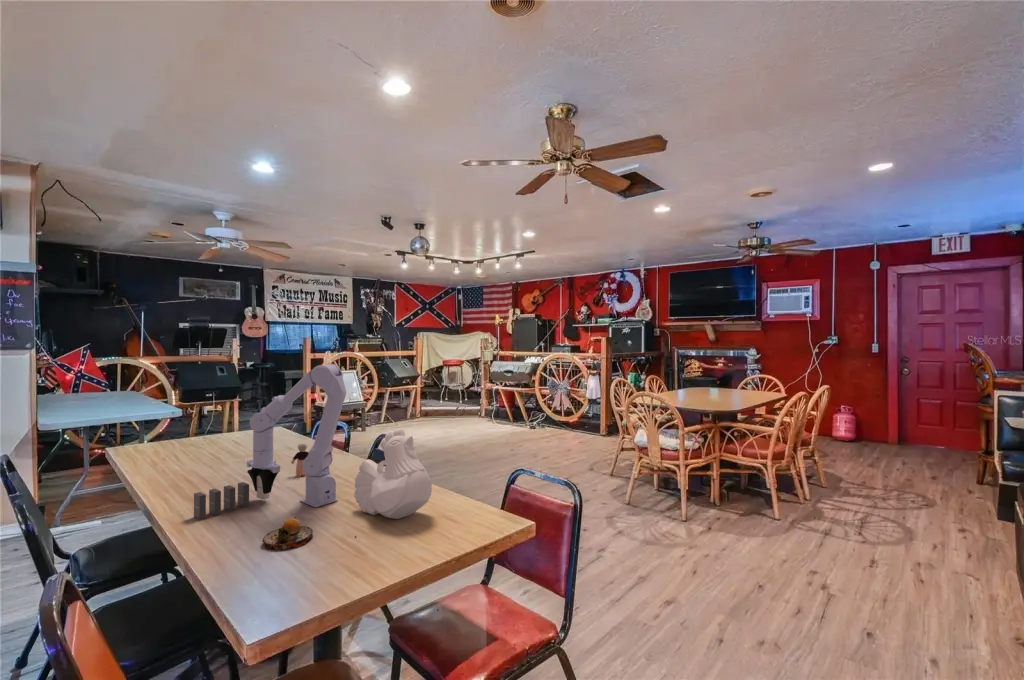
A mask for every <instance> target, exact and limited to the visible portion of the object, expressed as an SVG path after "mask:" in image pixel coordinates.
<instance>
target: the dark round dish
mask: <svg viewBox="0 0 1024 680" xmlns="http://www.w3.org/2000/svg"><path fill="white" fill-rule="evenodd" d="M297 515H298V514H296V515H295V517H297ZM301 524H302V522H300V521H299V520H298V519H297V518H293V517H292V518H288V519H286V520H285V521H284V522H283V525H282V526H281V527H280V528H277V529H275V530H272V531H270V532H268V533H266V535H264V537H263V538H262V541H261V542H262V543H264V549H266V550H268V551H272V547H273V548H274V549H275V550H276V551H277V552H281V551H282V550H283V551H285V550H286V549H290V548H294V549H297V548H300V547H301V546H302V545H304V546H305V545H307V544H308V543H310V542H311V541H312V540H313V538H314V534H313V531H314V530H313V529H312V527H309V526H303V525H301Z"/></svg>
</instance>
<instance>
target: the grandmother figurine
mask: <svg viewBox="0 0 1024 680" xmlns="http://www.w3.org/2000/svg"><path fill="white" fill-rule="evenodd" d="M307 448H308V444H306V443H305V442H300V443H299V444H298V445H297V449H298V451H299V452H298V451H297V453H295V455H294V456H293V458H292V460H291V462H290V463H291V464H292V465H293V464H294V463H295V462H296V467H295V476H294V478H301V476H302V477H306V473H305V472H304V471H303V468H302V464H303V461H304V459H305V458H306V457H307V456H308V454H309V451H306V450H307Z"/></svg>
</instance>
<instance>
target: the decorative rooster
mask: <svg viewBox="0 0 1024 680" xmlns="http://www.w3.org/2000/svg"><path fill="white" fill-rule="evenodd" d="M379 445H380V448H381V449H382V450H383V455H384V458H385V459H384V460H381V461H380V462H379V463H378V464H377V463H376V462H375V461H374V460H371V459H364V460H363V461H362V462H361V464H360V465H359V468H358V470H359V472H358V473H357V474H356V475H355V479H354V488H355V490H354V495H353V496H354V498H355V501H356V503H357V504H358V506H359V508H360V510H361V511H362V512H363V513H368V514H369V515H372V516H376V515H378V514H380V515H382V516H384V517H386V518H388V519H395V520H399V519H403V518H406V517H408V516H411V515H413V514H414V513H416V512H417V511H418V510H420V509H421V508H422V507H424V506H425V505H426V504H427V503H428V502H429V499H430V498H431V496H432V491H433V490H432V489H433V488H432V485H433V484H432V480H431V477H430V475H429V473H428V471H427V470H426V468H425V466H423V464H422V463H421V462H420V460H419V459H418V455H417V452H416V447H415V446H414V438H413V436H412V435H407V436H406V433H405V430H404V429H403V428H401V427H399V428H396V429H395V430H390V431H389V432H387V433H386V435H385V436H384V438H382V439H381V441H380V444H379ZM384 466H385V468H384V470H383V467H384Z"/></svg>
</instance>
